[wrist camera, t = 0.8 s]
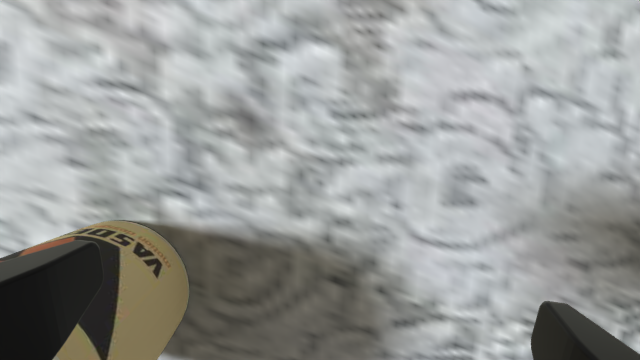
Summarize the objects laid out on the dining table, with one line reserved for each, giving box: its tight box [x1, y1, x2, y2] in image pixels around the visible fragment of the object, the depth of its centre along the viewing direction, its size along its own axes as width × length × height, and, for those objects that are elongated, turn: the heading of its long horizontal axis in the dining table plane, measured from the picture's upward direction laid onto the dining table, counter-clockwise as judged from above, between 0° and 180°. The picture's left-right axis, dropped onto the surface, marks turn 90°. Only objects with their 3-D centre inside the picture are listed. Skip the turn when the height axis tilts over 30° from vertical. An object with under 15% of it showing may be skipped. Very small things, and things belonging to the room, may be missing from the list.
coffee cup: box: [0, 221, 189, 360], centre depth 20 cm, size 9×9×12 cm
